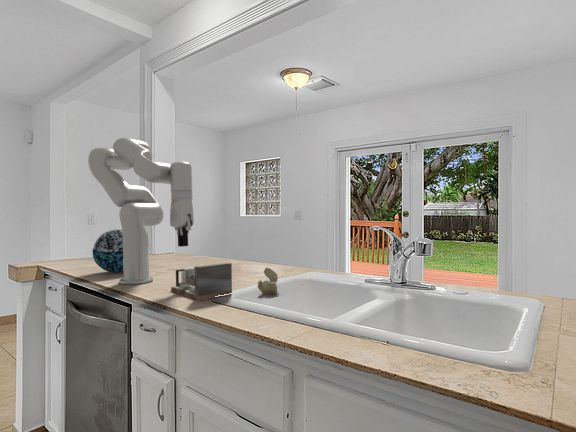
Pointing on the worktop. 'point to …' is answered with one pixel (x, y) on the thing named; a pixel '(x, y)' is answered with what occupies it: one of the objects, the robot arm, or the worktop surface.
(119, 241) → the decorative sphere
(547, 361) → the worktop surface
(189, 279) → the gauge plunger
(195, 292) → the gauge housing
